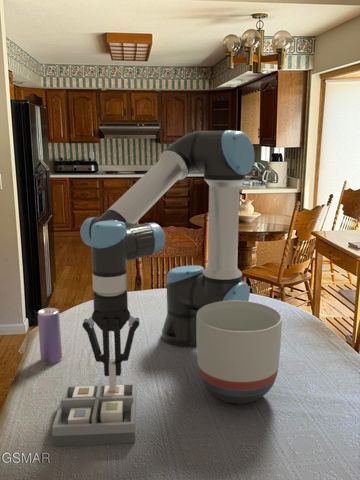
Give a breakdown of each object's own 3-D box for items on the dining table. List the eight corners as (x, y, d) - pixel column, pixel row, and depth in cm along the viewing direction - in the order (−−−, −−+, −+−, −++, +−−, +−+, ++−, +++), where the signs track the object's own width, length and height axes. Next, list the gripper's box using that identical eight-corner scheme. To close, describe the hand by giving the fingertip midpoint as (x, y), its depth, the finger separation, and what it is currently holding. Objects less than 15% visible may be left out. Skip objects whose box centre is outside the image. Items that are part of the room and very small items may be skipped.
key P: (123, 413, 108) (122, 400, 107) (122, 425, 103) (121, 411, 102) (102, 414, 107) (102, 400, 107) (101, 426, 103) (100, 412, 102)
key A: (124, 397, 114) (124, 384, 114) (123, 407, 110) (123, 394, 109) (105, 397, 114) (105, 384, 113) (103, 408, 110) (103, 394, 109)
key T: (92, 420, 107) (91, 406, 107) (89, 432, 103) (88, 418, 102) (71, 421, 107) (70, 407, 106) (68, 433, 103) (67, 419, 102)
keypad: (136, 397, 118) (136, 376, 117) (134, 442, 101) (134, 418, 100) (67, 400, 117) (65, 379, 116) (53, 446, 100) (51, 421, 99)
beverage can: (56, 365, 135) (53, 315, 132) (37, 363, 136) (33, 314, 133) (65, 356, 141) (62, 308, 138) (46, 354, 142) (43, 306, 139)
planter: (196, 374, 130) (196, 300, 125) (271, 375, 129) (274, 300, 124) (196, 418, 110) (196, 331, 105) (285, 419, 109) (289, 332, 105)
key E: (95, 398, 114) (94, 385, 113) (92, 408, 110) (92, 395, 109) (75, 398, 114) (75, 385, 113) (73, 409, 109) (72, 396, 109)
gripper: (139, 285, 110) (141, 378, 115) (82, 286, 109) (86, 380, 114) (139, 295, 103) (141, 395, 108) (78, 297, 102) (82, 397, 107)
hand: (113, 387), depth 111 cm, fingers closed
